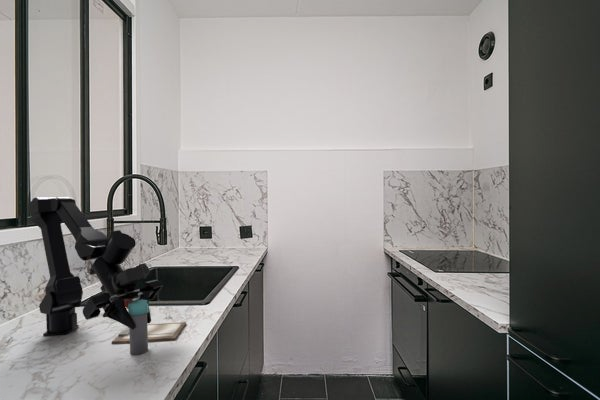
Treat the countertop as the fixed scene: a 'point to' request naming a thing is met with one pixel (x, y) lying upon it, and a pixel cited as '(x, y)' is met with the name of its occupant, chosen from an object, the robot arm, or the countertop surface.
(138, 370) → the countertop surface
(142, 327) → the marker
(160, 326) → the clipboard
